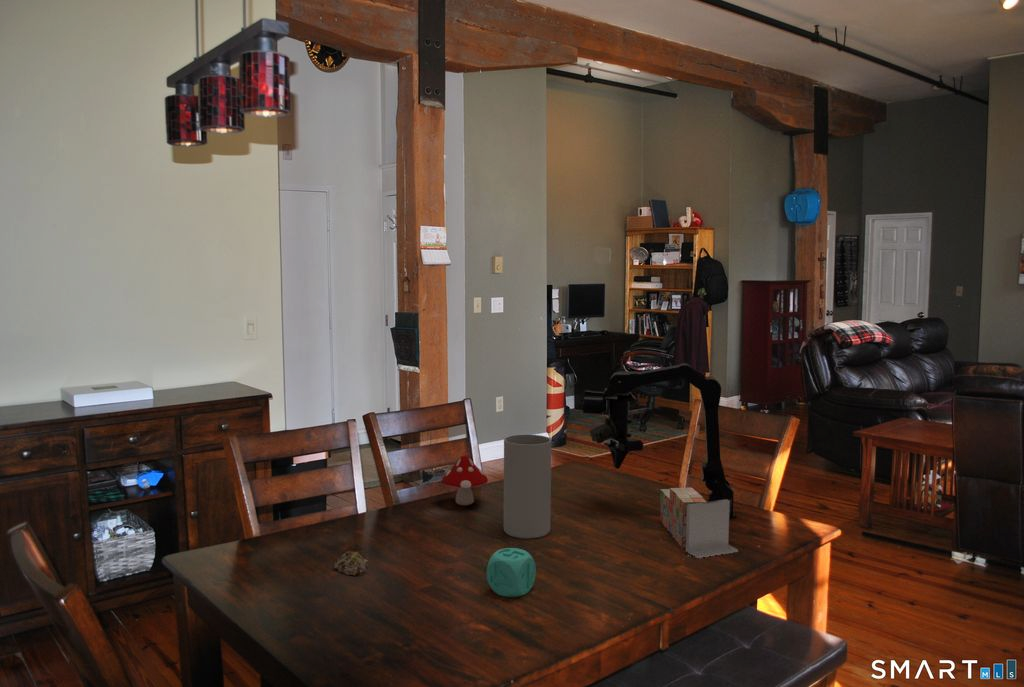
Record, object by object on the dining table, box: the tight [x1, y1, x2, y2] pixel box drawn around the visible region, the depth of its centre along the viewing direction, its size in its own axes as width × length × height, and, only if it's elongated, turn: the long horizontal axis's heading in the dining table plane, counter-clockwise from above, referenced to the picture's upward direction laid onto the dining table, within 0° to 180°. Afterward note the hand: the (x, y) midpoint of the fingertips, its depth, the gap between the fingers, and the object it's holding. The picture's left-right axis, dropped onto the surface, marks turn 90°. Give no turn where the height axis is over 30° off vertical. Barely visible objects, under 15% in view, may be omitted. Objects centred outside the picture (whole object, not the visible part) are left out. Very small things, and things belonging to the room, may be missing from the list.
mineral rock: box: [333, 550, 370, 577], centre depth 178 cm, size 11×4×8 cm
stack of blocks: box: [659, 487, 708, 549], centre depth 203 cm, size 21×6×12 cm, turn 4°
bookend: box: [685, 499, 739, 559], centre depth 190 cm, size 12×5×12 cm, turn 112°
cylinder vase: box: [503, 434, 552, 540], centre depth 203 cm, size 12×12×25 cm
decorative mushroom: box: [441, 454, 489, 507], centre depth 226 cm, size 14×14×15 cm
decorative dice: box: [486, 547, 537, 598], centre depth 167 cm, size 8×8×8 cm
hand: (617, 468), depth 222 cm, fingers closed
